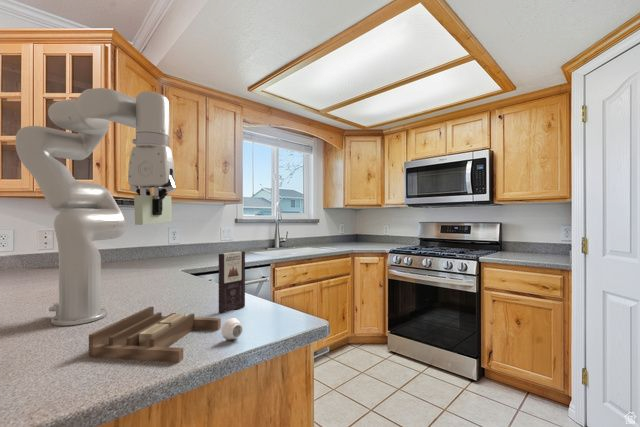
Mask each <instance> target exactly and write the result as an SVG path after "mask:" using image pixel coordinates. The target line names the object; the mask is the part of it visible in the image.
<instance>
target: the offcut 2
mask: <svg viewBox="0 0 640 427" xmlns="http://www.w3.org/2000/svg"><path fill="white" fill-rule="evenodd" d="M185 317H186V314H185V313H176V314H173V315H171V316H170V317H168V318H166V319H164V320H162V321H161V322H159V324H169V327H170V326H172V325H173V324H175V323H177V322H178V321H180V320H181V319H183V318H185Z"/></svg>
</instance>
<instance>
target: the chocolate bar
mask: <svg viewBox="0 0 640 427" xmlns="http://www.w3.org/2000/svg"><path fill="white" fill-rule="evenodd" d="M245 307H246V251H243V250H242V251H235V252H225V253H218V314H223V313H228V312H231V311H234V310H238V309H241V308H245Z"/></svg>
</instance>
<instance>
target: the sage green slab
mask: <svg viewBox="0 0 640 427" xmlns="http://www.w3.org/2000/svg"><path fill="white" fill-rule="evenodd" d="M152 199H154V195H152V196H147V195H139V194H138V195H133V202H134V205H133V207H134V225H135V226H140V225H141V226H144V225H151V224H161V223H170V222H173V207H172V195H166V196H165V199H164V200H162V215H153V214H152Z"/></svg>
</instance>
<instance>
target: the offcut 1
mask: <svg viewBox="0 0 640 427" xmlns="http://www.w3.org/2000/svg"><path fill="white" fill-rule="evenodd" d="M168 327H169V324H155V325H153V326H152V327H150V328H148V329H146V330H145V331H143V332H141V333H139V346H149V339H151V338H152V337H154V336H155V335H157V334H159V333H160V332H162V331H164V330H165V329H167V328H168Z"/></svg>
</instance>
